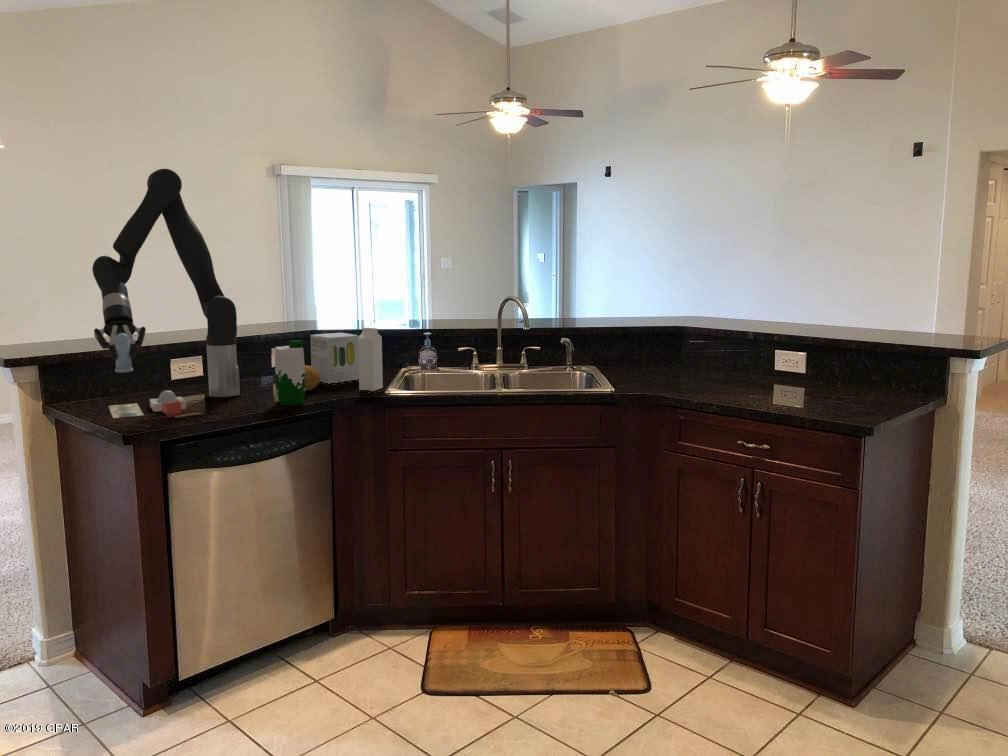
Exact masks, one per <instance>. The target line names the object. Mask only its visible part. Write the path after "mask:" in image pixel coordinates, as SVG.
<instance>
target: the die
mask: <svg viewBox="0 0 1008 756" xmlns="http://www.w3.org/2000/svg"><path fill="white" fill-rule="evenodd" d="M162 408H163V411H162V413H164V415H163V416H164V417H166V418H172V417H177V416H178V417H180V416H182V409H181V402H179V401H177V400H172V401H163V402H162Z"/></svg>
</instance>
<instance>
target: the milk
mask: <svg viewBox="0 0 1008 756" xmlns="http://www.w3.org/2000/svg"><path fill="white" fill-rule="evenodd" d="M361 331H362V332H361V334H359V335H358V351H359V381H358V382H359V384H358V385H359V390H370V391H375V390H378V389H381V388H384V384H383V383H384V382H383V377H384V376H383V340H382V338H383V337H382V336H381V334H379V332H378V328H374V327H362V328H361Z"/></svg>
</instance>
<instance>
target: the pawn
mask: <svg viewBox="0 0 1008 756" xmlns="http://www.w3.org/2000/svg"><path fill="white" fill-rule="evenodd" d="M114 345H115V350H116V360H115V368H114V371H115V373H130V372H134V368H133V367H132V366H133V365H132V364H133V363H132V359H131V351H130V338H129V336H128V335H127V334H125V333H119V334H117V335H116V336H115V338H114Z"/></svg>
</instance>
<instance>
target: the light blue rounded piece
mask: <svg viewBox="0 0 1008 756" xmlns="http://www.w3.org/2000/svg"><path fill="white" fill-rule="evenodd" d="M176 397H177V396H176V394H175V392H174V391H171V390H169V389H168V390H167V389H166V390H163V391H162V392H160V394H159V397H158V398H157V399H159V403H162V402H163V401H172V400H177V399H176Z"/></svg>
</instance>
